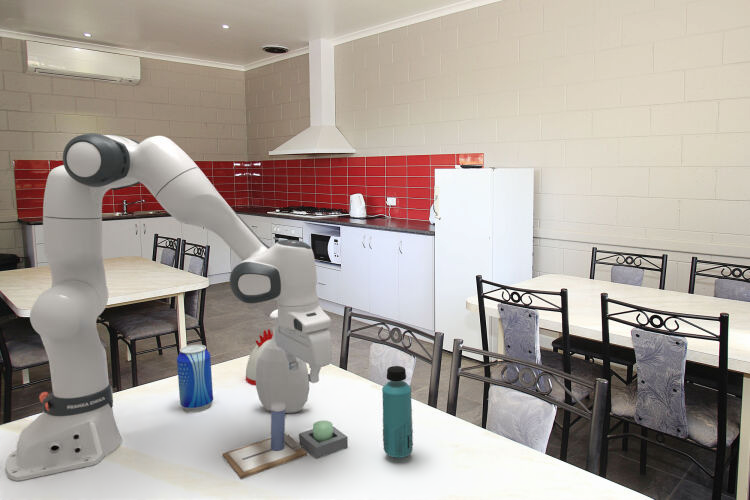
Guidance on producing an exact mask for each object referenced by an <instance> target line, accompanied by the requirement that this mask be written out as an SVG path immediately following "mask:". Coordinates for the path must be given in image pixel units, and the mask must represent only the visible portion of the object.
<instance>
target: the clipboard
mask: <svg viewBox="0 0 750 500" xmlns="http://www.w3.org/2000/svg"><path fill="white" fill-rule="evenodd" d="M307 452H308V451H306V450H304V449H303V447H302V446H301V445H300V444H299V442H298V441H297V440H295V439H294V438H293V437H292V436H291V435H290V434H286V433H285V440H284V449H282V450H280V451H274V450H272V449H271V437H270V438H269V437H268V438H266V439H263V440H260V441H257V442H253V443H249V444H247V445H245V446H241V447H239V448H236V449H235V448H234V449H232V450H230V451H229V450H228V451H226V452H223V453H221V454H222V456H221V457H223V458H224V460H225V461H226V462H227V464H229V466H230V467H231V468H232V469H233V471H234V472H235V473H236V474H237V475H238V477H239V478H240V479H244V478H245V479H246V478H248V477H250V476H253V475H255V474H256V475H257V474H258V473H261V472H264V471H267V470H270V469H273V468H275V467H278V466H281V465H283V464H287V463H290V462H293V461H294V460H297V459H300V458H303V457H307V456H308V453H307Z"/></svg>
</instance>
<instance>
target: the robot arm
mask: <svg viewBox="0 0 750 500" xmlns="http://www.w3.org/2000/svg"><path fill="white" fill-rule="evenodd" d="M62 163H63V164H62V165H59V166H57V167H54V168H53V169H51V170H50V172H49V173H48V176H47V179H46V183H45V190H44V194H43V203H42V204H43V208H42V239H43V240H42V250H43V255H44V257H45V258H46V261H47V262H48V266H49V271H50V275H51V287H50V288H48V289H46V290H45V291H43V292H42V293H41V294H40V295H38V297H37V299H36V300H35V301H34V303H33V304H32V307H31V310H30V314H29V321H30V323H31V324H30V325H31V326H32V328H33V330H34V331H35V332H36V333H37V334H39V336H40V338H41V341H42V344H43V347H44V350H45V353H46V355H47V358H48V359H47V360H48V363H49V370H50V371H49V372H50V380H51V387H52V392H51V393H49V391H43V392H41V393H40V395H39V397H38V398H39V402H40V403H42V408H43V412H42V413H41V414H39V415H38V416H37V417H36V418H35V419H34V420H33V421H32V422H30V423H29V424H28V425H27V426H26V427H24V428H23V429H22V431H21V433H20V434H19V436H18V440H17V445H16V449H15V450H13V451H12V452H11V453H10V454H9V455H8V456H7V458H6V461H5V473H6V476H7V477H8V478H9V479H10V480H14V481H17V482H18V481H24V480H25V481H26V480H29V479H33V478H38V477H39V478H40V477H43V476H47V475H54V474H57V473H62V472H67V471H70V470H76V469H80V468H81V469H82V468H85V467H90V466H95V465H97V464H99V463H100V462H101V461H102V459H104V458H105V456H107V455H108V454H110V453H112V452H114V451H115V450H116V449H117V448H118V447H119V446H120V445H121V443H122V442H123V437H122V434H120V431H119V428H118V426H117V423H116V417H115V414H114V409H113V407H114V395H113V394H114V393H113V387H112V384H111V382H110V381H109V373H108V360H107V352H106V351H107V350H106V349H105V347H104V346H103V344H102V341H101V338H100V335H99V332H98V329H97V319H98V317H99V316H101V314H102V313H103V312H104V310H105V309H106V307H107V304H108V301H109V289H108V286H107V278H106V271H105V265H104V259H103V250H102V249H103V246H102V245H103V243H102V242H103V238H102V237H103V236H102V235H103V218H102V217H103V209H102V208H103V198H104V196H105V194H106V193H107V192H108V191H109V190H112V191H118V190H122V189H125V188H131V187H134V186H137V185H139V184H142V185H143V186H145V188H146V189H147V190H148V191H149V193H150V194H152V196H153V197H154V198H155V200H156V201H157V202H158V203H159V205H160V206H161V207H162V209H164V210H165V212H167V213H168V214H169V215H170V216H171V217H172V218H174V219H175V220H176V221H178V222H179V223H182V224H186V225H188V226H189V225H191V226H195V227H199V228H203V229H206V230H208V231H210V232H213V233H215V234H216V235H217V236H218V237H219V238H221V239H222V241H223V242H225V244H226V245H227V246H228V247H229V248H230V249H231V250H232V251H233V252H234V253H235V255H236V256H237V257H238V258H239V259H241V262H239V263H238V264H237V265H236V266H235V267H234V268H233V269H232V271H231V273H230V275H229V287H230V289H231V292H232V293H233V295H234V296H235V297H236V298H237V299H238V300H239V301H241V302H242V303H245V304H258V303H264V302H266V301H267V302H268V301H271V300H275V301H276V302H277V303H276V304H277V309H278V317H277V318H276V319H274V324H275V342H276V345H277V347H279V348H281V349H283V350H284V351H285V355H286V358H287V361H288V365H289V369H290V370H292V371H295V370H298V368H299V367H298V362H297V360H296V357H297V358H299V359H301V360H302V361H304V362H306V364H308V366H309V369H310V371H309V372H310V373H308V378H309V379H308V380H309V383H312V384H316V383H319V381H320V372H321V370H322V368H323V367H327V366H329V365H330V364H331V362H332V359H333V358H332V356H333V351H332V350H333V349H332V347H333V346H332V337H331V332H330V328H331V327H332V319H331V317H330V316H329V315H328V314H327V313H326V312H325V311H324V310H323V308H322V307H321V306H320V305H319V295H318V293H317V282H318V274H317V267H316V266H317V265H316V261H315V260H316V259H315V254H314V250H313V249H312V247H311V246H310V245H309V244H308V243H306V242H304V241H301V240H297V239H295V240H294V239H282V240H280V239H279V240H278V241H276V243H274V244H273V245H272V246H268V245H267V244H266V243H265V242H264V241H263V240H261V238H259V236H258V235H257V234H256V233H255V232H254V231H253V230H252V229H251V227H249V225H248V224H247V223H246V222H245V221H244V220H243V218H242V217H240V216H239V214H238V213H237V212H236V211H235V210H234V209H233V208H232V207H231V206H230V205H229V204H228V203H227V201H226V200H225V199H224V198H223V196H222V195H221V194H220V193H219V192H218V190H217V188H216V187H215V186H214V185H213V184H212V182H211V181H210V180H209V178H208V177H207V176H206V175H205V173H204V172H203V171H202V169H200V167H199V166H198V165H197V164H196V162H195V161H194V160H193V159H192V158H191V157H190V156H189V155H188V154H187V153H186V152H185V151H184V150H183V149H182V148H181V147H180V146H179V145H177V144H176V143H175V142H174V141H173V140H171V139H170V138H168V137H167V136H163V135H155V136H149V137H147V138H145V139H144V140H142V141H140V142H139V141H137V140H136V139H132V138H127V137H124V136H121V135H116V134H100V133H91V132H90V133H83V134H80V135H77V136H76V137H73V138H71V140H69V141H68V143H67V144H66V145H65V147H64V149H63V153H62Z"/></svg>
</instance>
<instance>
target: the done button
mask: <svg viewBox="0 0 750 500" xmlns="http://www.w3.org/2000/svg"><path fill="white" fill-rule="evenodd" d="M333 427H334V426H333V423H332V421H329V420H319V421H316V422H314V423H313V425H312V429H313V439H315V440H316V441H317V442H318V443H320V442H323V441H326V440H328V439H331V438H333Z"/></svg>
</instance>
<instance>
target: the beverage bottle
mask: <svg viewBox="0 0 750 500" xmlns="http://www.w3.org/2000/svg"><path fill="white" fill-rule="evenodd" d="M386 379H387V380H388V382H386V384H384V385H383V386H382V388H381V391H382V392H381V393H382V426H381V427H382V442H383V451H384V453H385V454H386V455H387V456H389V457H392V458H405V457H408V456H410V455H411V454H412V452H413V446H414V439H413V438H414V436H413V433H414V430H413V423H414V422H413V408H412V407H413V406H412V386H410V384H408V383H407V382H406V381H405V380H406V379H407V373H406V368H405V367H403V366H400V365H392V366H390V367H388V368H387V369H386Z"/></svg>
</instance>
